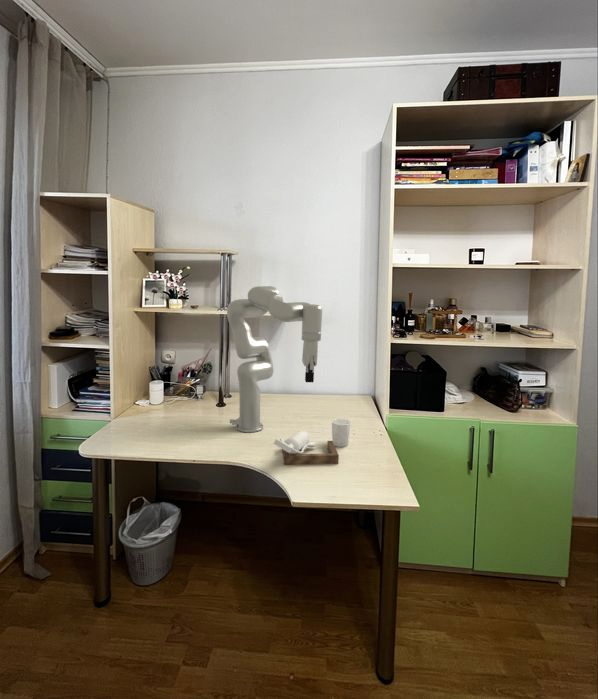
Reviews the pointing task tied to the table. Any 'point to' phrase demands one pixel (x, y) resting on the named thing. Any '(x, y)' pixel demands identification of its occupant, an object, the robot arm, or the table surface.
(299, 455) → the u rest
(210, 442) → the table surface
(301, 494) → the table surface
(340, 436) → the white cup
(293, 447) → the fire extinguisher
